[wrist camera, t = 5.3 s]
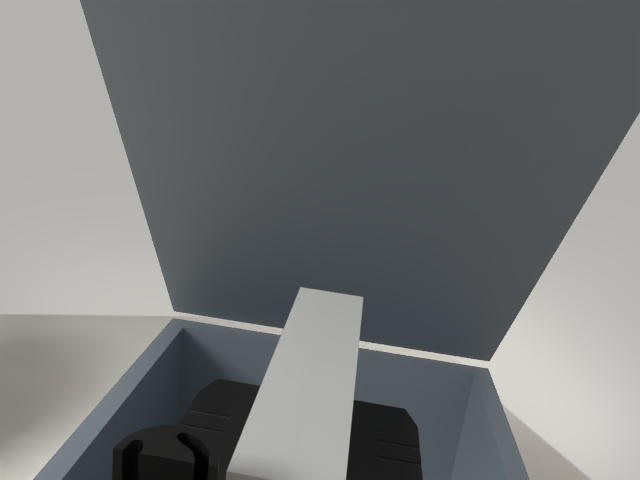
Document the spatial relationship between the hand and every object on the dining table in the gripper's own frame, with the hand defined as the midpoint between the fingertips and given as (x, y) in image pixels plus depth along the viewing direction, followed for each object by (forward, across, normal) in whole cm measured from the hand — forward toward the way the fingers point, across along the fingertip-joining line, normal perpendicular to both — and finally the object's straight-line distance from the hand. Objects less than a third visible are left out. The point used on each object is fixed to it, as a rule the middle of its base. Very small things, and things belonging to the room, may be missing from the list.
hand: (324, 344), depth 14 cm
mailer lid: (+7, 0, +3) cm, 8 cm away
